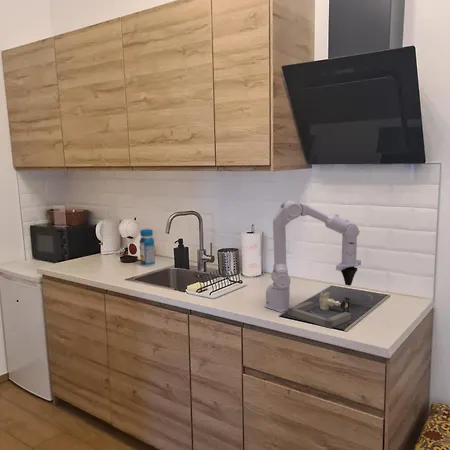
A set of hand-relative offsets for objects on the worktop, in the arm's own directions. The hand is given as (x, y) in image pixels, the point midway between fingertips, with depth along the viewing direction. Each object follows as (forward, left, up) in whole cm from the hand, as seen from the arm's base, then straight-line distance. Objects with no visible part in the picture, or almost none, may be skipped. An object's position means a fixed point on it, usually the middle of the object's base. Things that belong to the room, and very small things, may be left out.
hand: (348, 284), depth 192 cm
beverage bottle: (-120, -21, -9) cm, 122 cm away
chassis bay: (0, -19, -9) cm, 21 cm away
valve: (-1, -9, -9) cm, 13 cm away
